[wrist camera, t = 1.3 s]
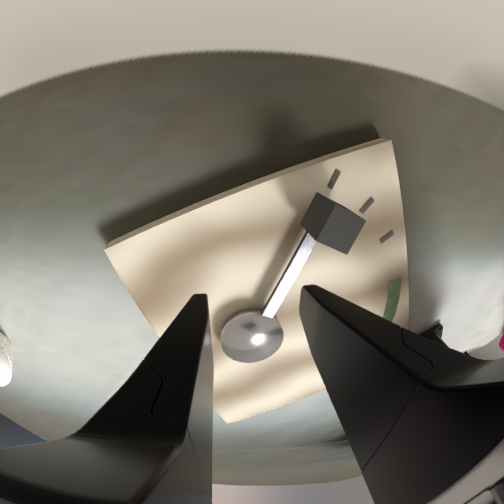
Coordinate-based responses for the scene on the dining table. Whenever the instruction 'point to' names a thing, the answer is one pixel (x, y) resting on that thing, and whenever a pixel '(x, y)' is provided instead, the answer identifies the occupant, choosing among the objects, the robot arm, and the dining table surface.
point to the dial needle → (288, 282)
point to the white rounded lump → (5, 360)
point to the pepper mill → (502, 343)
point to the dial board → (272, 265)
